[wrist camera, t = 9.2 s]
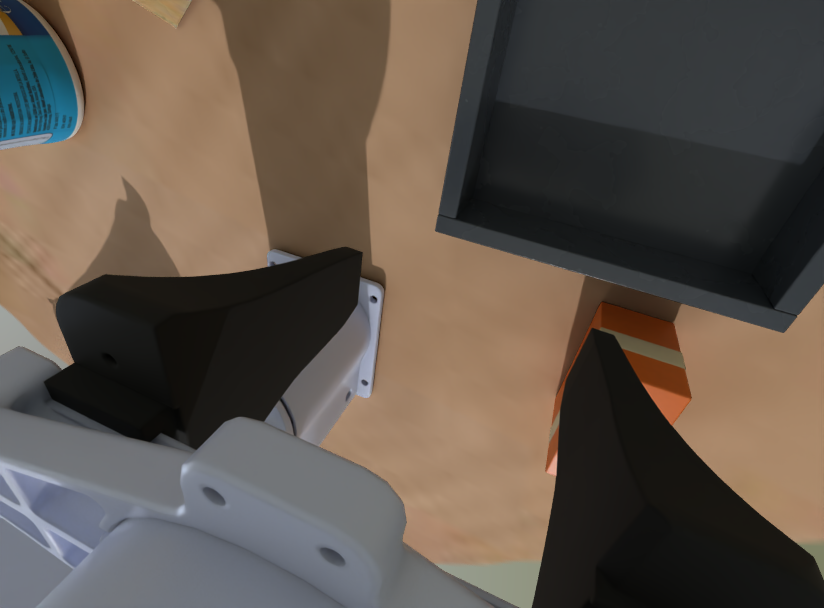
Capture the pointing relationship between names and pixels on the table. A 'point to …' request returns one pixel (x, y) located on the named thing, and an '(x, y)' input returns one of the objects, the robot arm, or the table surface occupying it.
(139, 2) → the sandwich container
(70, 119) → the beverage bottle
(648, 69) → the tray
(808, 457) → the table surface
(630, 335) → the snack box
